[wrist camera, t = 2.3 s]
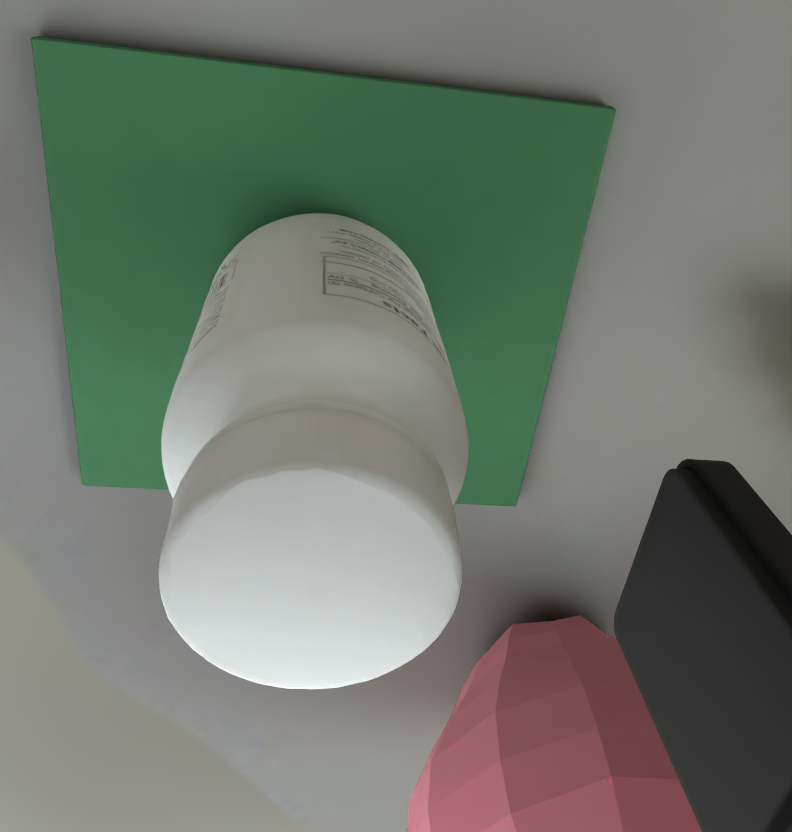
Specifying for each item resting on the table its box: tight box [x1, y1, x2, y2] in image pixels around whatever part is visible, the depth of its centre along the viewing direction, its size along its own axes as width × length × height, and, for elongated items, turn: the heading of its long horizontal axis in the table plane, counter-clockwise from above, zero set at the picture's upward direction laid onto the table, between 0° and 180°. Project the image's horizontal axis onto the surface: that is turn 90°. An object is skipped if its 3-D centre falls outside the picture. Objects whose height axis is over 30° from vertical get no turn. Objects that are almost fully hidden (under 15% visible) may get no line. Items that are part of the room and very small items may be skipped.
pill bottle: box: [158, 213, 469, 689], centre depth 12 cm, size 4×4×8 cm
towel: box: [31, 36, 616, 506], centre depth 15 cm, size 10×9×1 cm
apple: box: [407, 615, 702, 832], centre depth 17 cm, size 10×9×10 cm
